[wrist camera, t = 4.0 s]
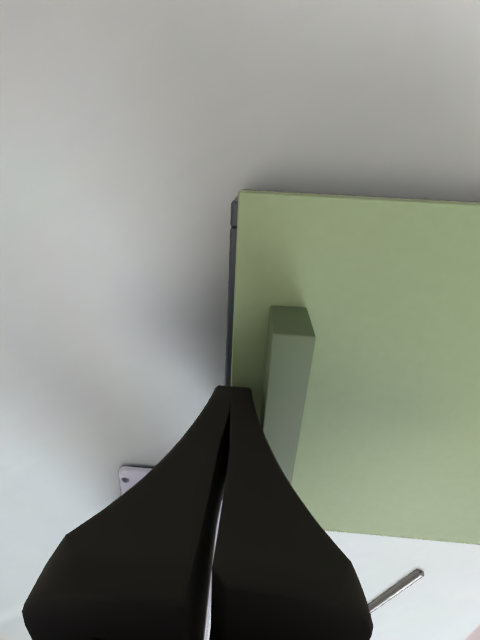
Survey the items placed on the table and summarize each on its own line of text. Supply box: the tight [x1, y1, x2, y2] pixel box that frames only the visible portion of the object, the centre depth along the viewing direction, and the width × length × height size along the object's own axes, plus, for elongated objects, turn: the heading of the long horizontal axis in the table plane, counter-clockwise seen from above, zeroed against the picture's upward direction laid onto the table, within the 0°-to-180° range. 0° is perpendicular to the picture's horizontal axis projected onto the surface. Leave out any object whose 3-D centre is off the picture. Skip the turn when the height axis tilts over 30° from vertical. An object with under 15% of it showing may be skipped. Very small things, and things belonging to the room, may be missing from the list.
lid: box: [231, 190, 480, 545], centre depth 12 cm, size 15×13×3 cm
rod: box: [368, 569, 424, 613], centre depth 31 cm, size 1×19×1 cm, turn 154°
